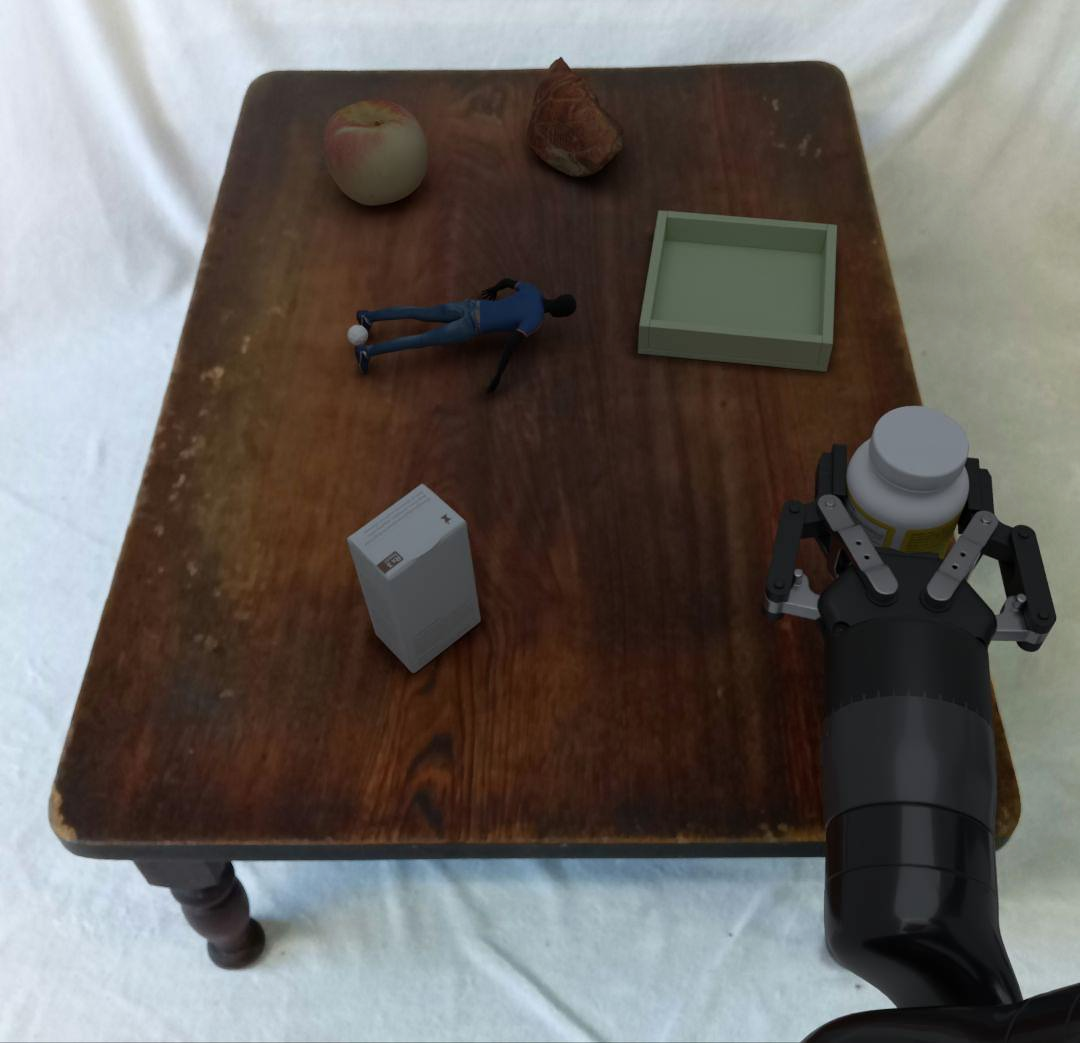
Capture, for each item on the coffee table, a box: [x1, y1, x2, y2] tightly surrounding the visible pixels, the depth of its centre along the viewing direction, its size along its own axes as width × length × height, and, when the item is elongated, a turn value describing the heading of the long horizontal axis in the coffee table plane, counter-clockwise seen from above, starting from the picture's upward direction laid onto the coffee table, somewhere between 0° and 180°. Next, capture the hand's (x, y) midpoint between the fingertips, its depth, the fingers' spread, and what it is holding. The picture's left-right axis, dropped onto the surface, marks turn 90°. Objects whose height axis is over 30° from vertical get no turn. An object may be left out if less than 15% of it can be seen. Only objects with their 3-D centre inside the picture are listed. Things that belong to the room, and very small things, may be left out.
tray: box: [637, 209, 838, 373], centre depth 95 cm, size 15×14×3 cm
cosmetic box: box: [346, 483, 482, 674], centre depth 74 cm, size 6×4×12 cm
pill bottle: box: [825, 405, 970, 580], centre depth 63 cm, size 6×6×11 cm
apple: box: [322, 99, 429, 206], centre depth 103 cm, size 9×9×8 cm
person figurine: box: [346, 277, 577, 396], centre depth 93 cm, size 11×4×18 cm
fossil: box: [525, 56, 626, 178], centre depth 106 cm, size 13×8×10 cm
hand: (901, 461), depth 64 cm, fingers closed on pill bottle, 6 cm apart
